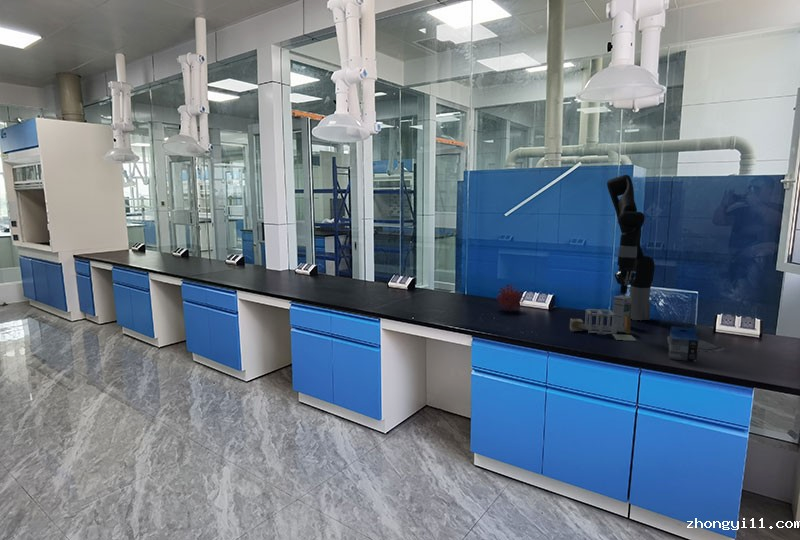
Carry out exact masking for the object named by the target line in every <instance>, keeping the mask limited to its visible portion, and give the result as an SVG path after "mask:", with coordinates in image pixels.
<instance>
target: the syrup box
mask: <svg viewBox="0 0 800 540" xmlns="http://www.w3.org/2000/svg"><path fill="white" fill-rule="evenodd" d="M612 308H613V309H612V312H613V313H614V314H615V315H616V316H615V324H616V325H617V326H624V317H625V315H628V316H630V313H631V297H630V296H628V295H622V294H621V295H617V296H613V305H612Z"/></svg>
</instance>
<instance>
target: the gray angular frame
mask: <svg viewBox="0 0 800 540" xmlns="http://www.w3.org/2000/svg"><path fill="white" fill-rule="evenodd" d="M593 316H594V317H596V320H595V321H596V322H595V325H600V330H591V325H593V324H592V323H593V322H592V320H593ZM615 316H616V315H615V314H614V313H613V310H611V309H595V308H585V316H584V317H585V319H584V324H589V327H588V330H587V334H589V333H597V334H596V335H606V334H617V333H618V331H617V325H616V324H615ZM604 317H607V321H606V325H609V326H612V330H611V331H603V325H604ZM611 317H612V319H611ZM611 320H612V321H611ZM599 322H600V323H599Z"/></svg>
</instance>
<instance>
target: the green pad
mask: <svg viewBox="0 0 800 540" xmlns="http://www.w3.org/2000/svg"><path fill="white" fill-rule="evenodd" d="M612 335H613V336H614V337H613V336H612ZM612 335H611V336H612V337H613V338H614V340H616V341H617V340H623V341H622V342H634V341H636V342H637V339H636V338H635V337H634V336H633V335H632V334H620V333H619V334H612Z"/></svg>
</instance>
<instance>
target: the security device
mask: <svg viewBox="0 0 800 540" xmlns="http://www.w3.org/2000/svg"><path fill="white" fill-rule="evenodd" d="M666 338H667V346H668V348H669V342H670V335H667V337H666ZM722 348H723V347H722V346H720V345H717V344H714V343H712V342H709V341H707V340H701V339H698V349H697V350H702V351H714V350H718V349H722ZM702 351H701V352H702Z"/></svg>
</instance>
